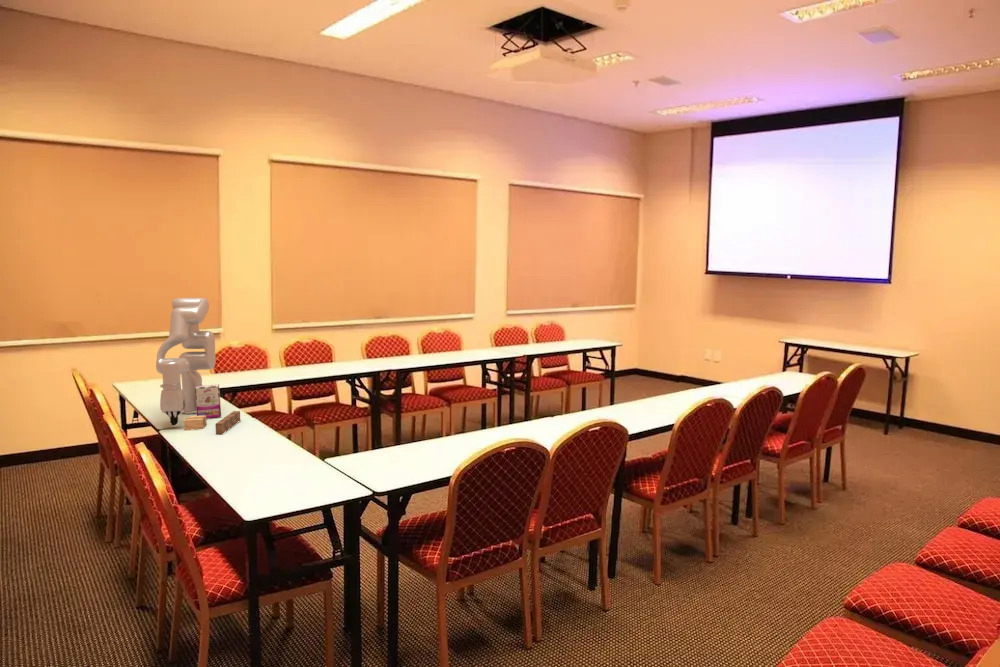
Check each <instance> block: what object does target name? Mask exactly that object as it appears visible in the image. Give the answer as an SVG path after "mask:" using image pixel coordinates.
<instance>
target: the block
mask: <svg viewBox="0 0 1000 667" xmlns="http://www.w3.org/2000/svg"><path fill="white" fill-rule="evenodd" d="M207 423H208V422H207V419H206V415H205V416H197V415H188V416H187V417H186V418H185V419H183V428H184V431H192V430H191V429H203V428H204V429H205V427H207V425H208V424H207ZM204 429H203V430H204Z"/></svg>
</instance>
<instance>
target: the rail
mask: <svg viewBox="0 0 1000 667" xmlns="http://www.w3.org/2000/svg"><path fill="white" fill-rule="evenodd" d="M238 421H240V422H241V411H240V410H233V411H231V412H230V413H229V414H227V415H225V416H224V417H223V418H222V419H220V420H219V421H217V422H216V423H215V435H224V434H225V433H226V432H227V430H228V429H229V428H230V429H232V428H233V427H234V426H235V425H234V424H236V423H237V422H238ZM238 423H239V422H238ZM238 423H237V424H238ZM237 424H236V425H237ZM233 425H234V426H233ZM232 426H233V427H232ZM231 427H232V428H231ZM230 429H229V430H230ZM229 430H228V431H229ZM225 431H226V432H225ZM224 432H225V433H224ZM223 433H224V434H223Z"/></svg>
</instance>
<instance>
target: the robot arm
mask: <svg viewBox="0 0 1000 667" xmlns="http://www.w3.org/2000/svg"><path fill="white" fill-rule="evenodd" d="M171 306H172V307H171V308H172V310H171V314H170V323H169V331H168V332H169V334H168V337H167V339H166V340H165V341H163V343H162V344H161V346H160V347H159V348H158V351H157V354H156V360H155V361H156V363H155V365H156V366H155V367H156V371H157V373H159V374H161V375H162V384H160V385H159V386H160V387H159V388H162V389H161V391H160V400H159V401H160V402H159V403H160V404H159V405H160V406H159V408H160V409H159V410H160V411H161V413H163V414H165V415H166V416H168V417H169V423H170V426H176V425H177V424H178V423H179V416H180V415H181V414H183V413H185V414H184V415H190V414H191V415H193V413H195V414H197V408H196V394H195V387H196V386H203V378H202V375H201V374H200V372H199V371H200V370H203V371H205V370H213V369H214V368H215V366H216V360H217V359H216V339H215V335H214V333H213V332H212V331H210V330H200V324H201V323H203V321H204V320H205V318H206V316H207V315H208V312H209V308H210V302H209V300H208V299H207V298H206V297H178V298H177V297H176V298H174V299H173V300H171ZM180 344H181V346H182V348H184V349H187V350H204V351H186V352H185V351H184V352H182V353H181V354H180V355H179V356H178V357H177V358H176V357H175V358H174V357H167V358H166V355H167V353H168V351H169V350H171V349H172V348H174V347H176V346H177V345H178V346H179V345H180ZM198 370H199V371H198Z"/></svg>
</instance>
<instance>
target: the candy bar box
mask: <svg viewBox="0 0 1000 667" xmlns="http://www.w3.org/2000/svg"><path fill="white" fill-rule="evenodd" d="M195 394H196V408H197V413H196V416H205V415H206V418H209V419H218V418H217V417H220V418H222V410H221V409H222V407H221V392H220V384H210V385H209V384H208V385H207V384H206V385H202V386H196V387H195Z"/></svg>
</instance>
